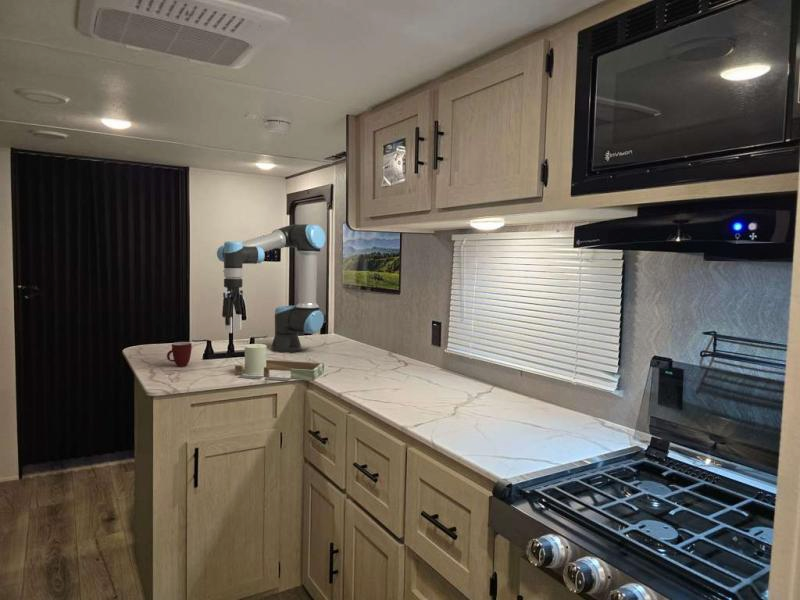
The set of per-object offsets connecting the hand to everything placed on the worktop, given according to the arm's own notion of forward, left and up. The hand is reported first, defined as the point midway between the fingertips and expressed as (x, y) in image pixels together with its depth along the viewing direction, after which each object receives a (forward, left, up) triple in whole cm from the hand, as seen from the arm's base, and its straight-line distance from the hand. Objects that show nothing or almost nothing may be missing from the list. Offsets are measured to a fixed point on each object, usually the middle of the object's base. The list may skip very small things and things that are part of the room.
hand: (233, 331), depth 229 cm
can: (0, +10, -18) cm, 20 cm away
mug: (-2, -26, -18) cm, 31 cm away
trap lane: (0, +21, -17) cm, 27 cm away
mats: (+9, +18, -17) cm, 26 cm away
